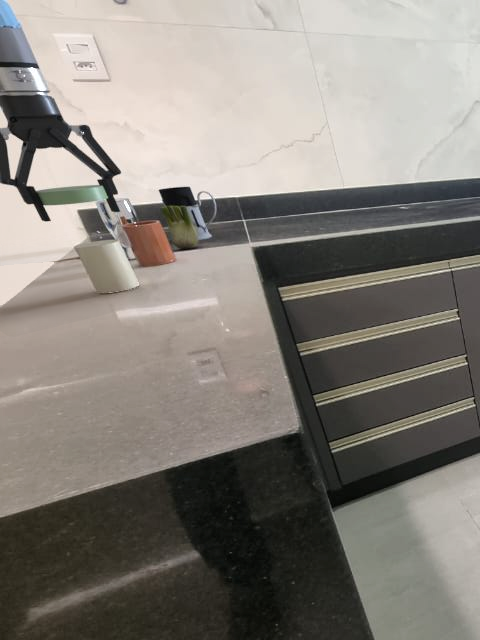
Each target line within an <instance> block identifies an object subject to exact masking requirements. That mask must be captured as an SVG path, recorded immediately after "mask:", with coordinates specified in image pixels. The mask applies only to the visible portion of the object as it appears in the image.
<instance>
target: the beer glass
mask: <svg viewBox="0 0 480 640" xmlns="http://www.w3.org/2000/svg"><path fill="white" fill-rule="evenodd" d="M115 201H116V203H117V205H118V207H119V209H120V212H112V211H111V209H110V207H109V205H108V203H107V200H106V199H104V200H99V201H94V202H95V205H96V208H97V210H98V213H99V216H100V218H101V220H102V222H103V224H104V226H105V227H106V229H107V230H108V232H109V233H110V234H111V236H112V237H113V238H114V240H119V242H120V244H121V246H122V248H123V250H124V253H125V255H126V257H127V259H128V261H131V260H136V258H135V255H134V253H133V251H132V249H131V247H130V245H129V243H128V240H127V238H126V236H125V234H124V232H123V230H122V227H121V226H122V225H125V224H130V223H136V222H140V218H139V217H138V214H137V212H136V210H135V208H134V206H133V205H132V202H131V200H130V199H129V198H126V197H125V198H115Z"/></svg>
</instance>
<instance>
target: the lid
mask: <svg viewBox="0 0 480 640" xmlns="http://www.w3.org/2000/svg"><path fill="white" fill-rule="evenodd" d="M36 192H37V194H38V196H39V198H40V200H41V202H42V204H43V206H63V205H64V206H65V205H75V204H84V203H85V204H86V203H91V202H93V203H94V202H97V201H102V200H106V199H108V196H107V194H106V192H105V189H104V187H103V186H102V185H99V184H87V185H74V186H73V185H71V186H63V187H53V188H45V189H39V190H36Z"/></svg>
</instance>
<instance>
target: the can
mask: <svg viewBox="0 0 480 640" xmlns="http://www.w3.org/2000/svg"><path fill="white" fill-rule="evenodd" d="M73 248H74V250H75V252H76V254H77V256H78V259H79V260H80V262H81V264H82V266H83V268H84V270H85V272H86V274H87V276H88V278H89V279H90V282H91V284H92V286H93V288H94V290H95V292H96V294H98V293H109V292H116V291H121V290H125V289H130V288H134V287H136V286H139V284H140V283H139V280H138V278H137V276H136V274H135V272H134V270H133V268H132V266H131V263H130V260H128V259H127V257H126V255H125V253H124V250H123V248H122V246H121V244H120V242H119V240H115V239H104V240H103V239H102V240H95V241H89V242H84V243H80V244H77V245H74V246H73ZM139 287H140V286H139ZM134 289H135V288H134Z"/></svg>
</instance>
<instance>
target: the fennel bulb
mask: <svg viewBox="0 0 480 640" xmlns="http://www.w3.org/2000/svg"><path fill="white" fill-rule="evenodd" d="M172 207H173V210H174V212H175V214H176V216H175V214H174V212H173V210H172V208H171V206H166V207H165V206H162V207H160V210H161V212H162V214H163V216H164V219H165V221H166V224H167V227H168V233H169V236H170V239H171V241H172V244H173V245H174V246H175V247H176V248H177V249H181V250H189V249H193V248H197V247H198V246H199V240H198V236H197V232H196V230H195V227H194V225H193V223H192V221H191V219H190V217H189V214H188V211H187V208H186V206H180V208H181V211H180V209H179V207H178V206H172ZM181 212H182V214H181ZM182 215H183V216H182ZM176 217H177V218H176ZM177 219H178V220H177Z"/></svg>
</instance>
